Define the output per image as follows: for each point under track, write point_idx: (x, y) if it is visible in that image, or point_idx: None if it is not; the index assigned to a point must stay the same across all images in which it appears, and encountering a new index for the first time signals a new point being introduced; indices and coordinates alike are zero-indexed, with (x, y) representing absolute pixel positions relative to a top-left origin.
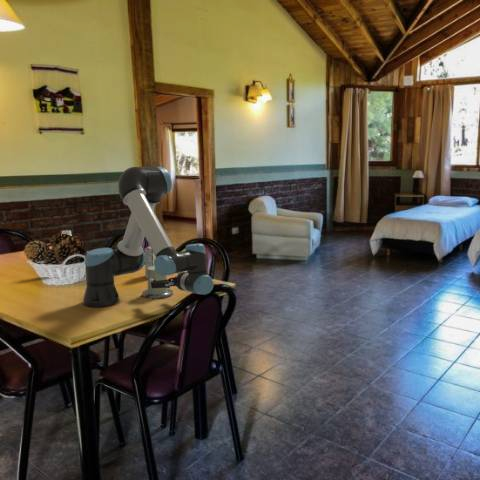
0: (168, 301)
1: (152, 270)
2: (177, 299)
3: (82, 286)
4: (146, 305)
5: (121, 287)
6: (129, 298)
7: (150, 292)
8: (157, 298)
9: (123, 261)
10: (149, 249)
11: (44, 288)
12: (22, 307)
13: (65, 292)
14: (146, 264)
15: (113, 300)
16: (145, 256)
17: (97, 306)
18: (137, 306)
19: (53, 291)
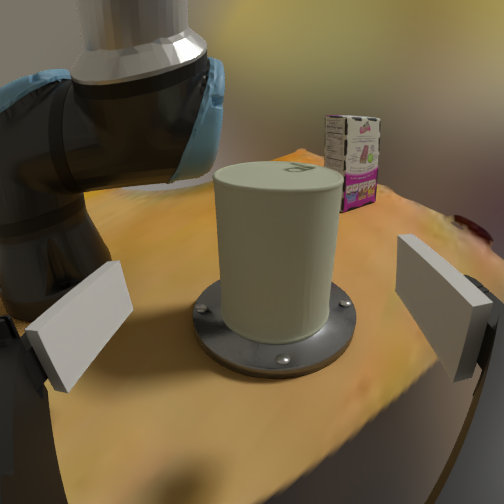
0: (255, 446)
1: (220, 184)
2: (332, 440)
3: (154, 200)
4: (100, 418)
5: (216, 224)
6: (141, 300)
7: (221, 308)
8: (230, 367)
9: (73, 121)
10: (338, 118)
11: (103, 193)
12: None
13: (98, 212)
14: (328, 164)
15: (37, 305)
16: (326, 139)
17: (5, 307)
18: (64, 397)
19: (94, 204)
